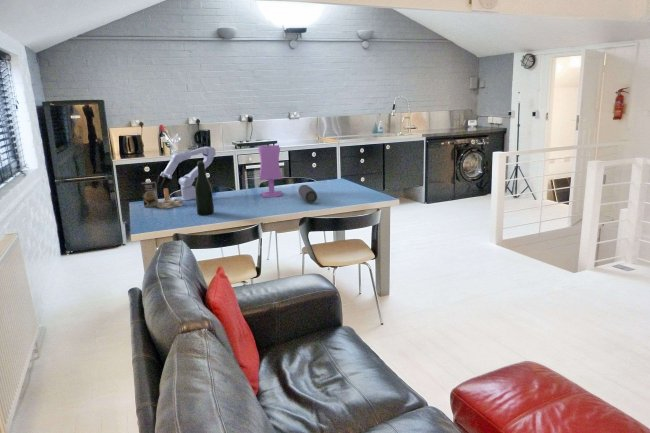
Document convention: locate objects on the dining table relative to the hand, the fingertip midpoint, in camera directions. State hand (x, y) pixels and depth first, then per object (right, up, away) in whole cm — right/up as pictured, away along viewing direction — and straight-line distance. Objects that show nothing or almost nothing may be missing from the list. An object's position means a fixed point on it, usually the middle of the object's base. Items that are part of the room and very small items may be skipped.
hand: (159, 186), depth 322 cm
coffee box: (-5, -14, -2) cm, 15 cm away
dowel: (+3, -11, +6) cm, 13 cm away
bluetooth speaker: (+102, -11, -4) cm, 103 cm away
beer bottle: (+39, -19, -29) cm, 52 cm away
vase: (+75, -5, +19) cm, 77 cm away
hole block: (+8, -14, -4) cm, 17 cm away
